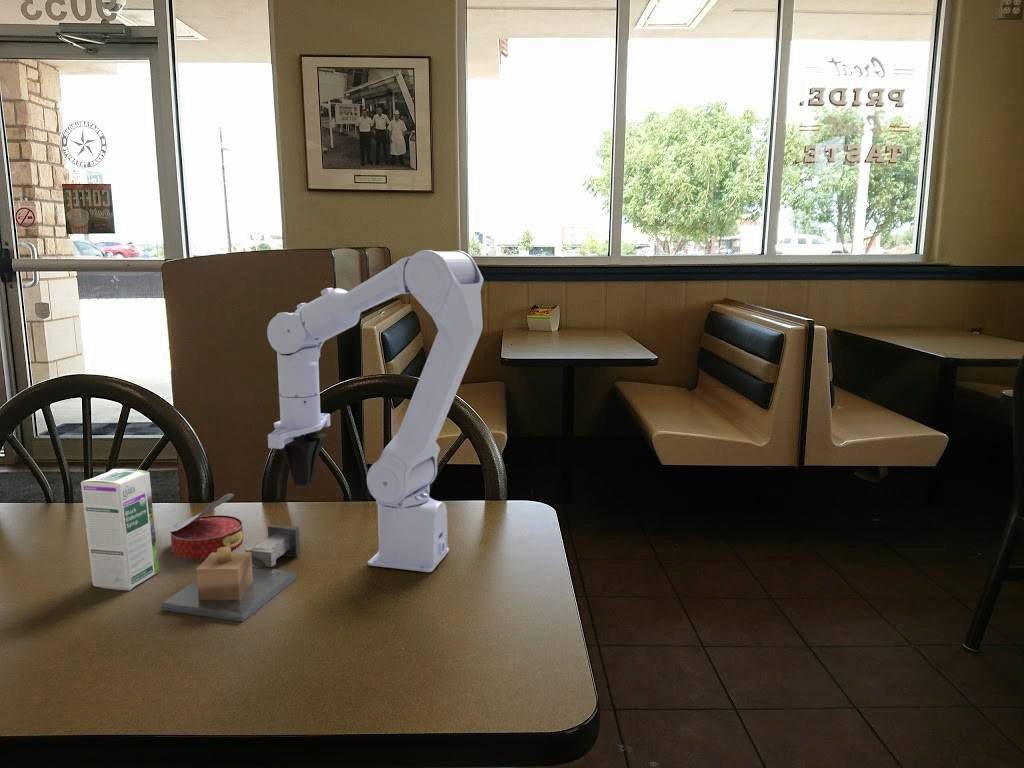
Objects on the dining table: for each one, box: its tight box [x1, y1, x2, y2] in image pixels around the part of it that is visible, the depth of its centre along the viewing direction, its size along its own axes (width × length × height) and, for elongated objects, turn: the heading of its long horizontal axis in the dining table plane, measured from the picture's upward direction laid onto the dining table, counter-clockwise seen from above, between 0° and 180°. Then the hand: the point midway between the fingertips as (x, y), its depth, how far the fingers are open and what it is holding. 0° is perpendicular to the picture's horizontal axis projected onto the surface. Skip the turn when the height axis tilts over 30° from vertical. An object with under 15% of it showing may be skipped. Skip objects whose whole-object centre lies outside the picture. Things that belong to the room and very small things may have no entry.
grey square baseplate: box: [161, 565, 297, 623], centre depth 93 cm, size 11×12×1 cm
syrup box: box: [80, 468, 160, 591], centre depth 96 cm, size 6×6×14 cm
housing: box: [195, 547, 253, 600], centre depth 92 cm, size 5×5×6 cm
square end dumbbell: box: [244, 523, 301, 568], centre depth 102 cm, size 4×7×4 cm, turn 166°
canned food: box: [169, 493, 244, 559], centre depth 108 cm, size 11×10×10 cm
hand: (303, 483), depth 110 cm, fingers closed
